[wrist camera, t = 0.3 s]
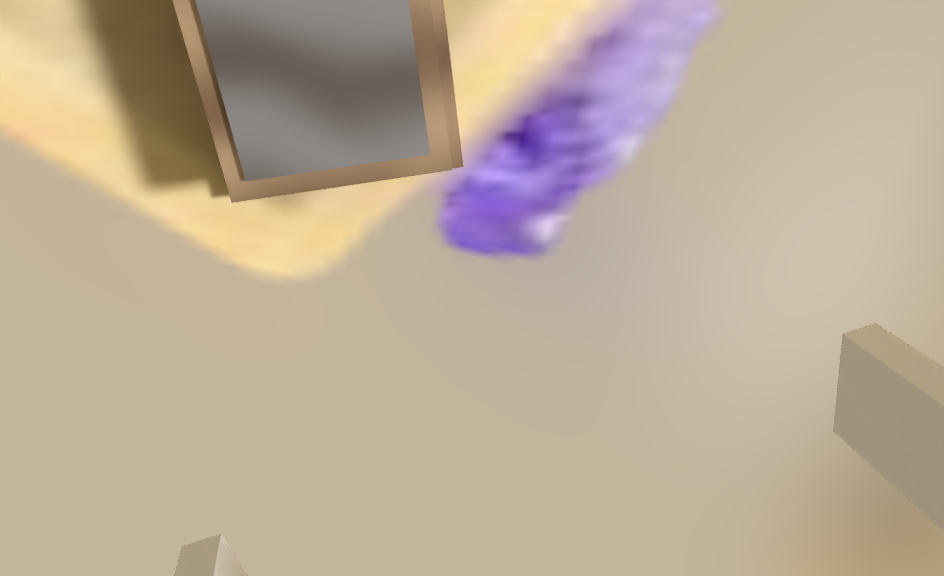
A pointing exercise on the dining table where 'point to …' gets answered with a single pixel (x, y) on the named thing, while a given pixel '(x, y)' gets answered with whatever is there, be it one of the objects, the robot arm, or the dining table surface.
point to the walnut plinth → (323, 91)
